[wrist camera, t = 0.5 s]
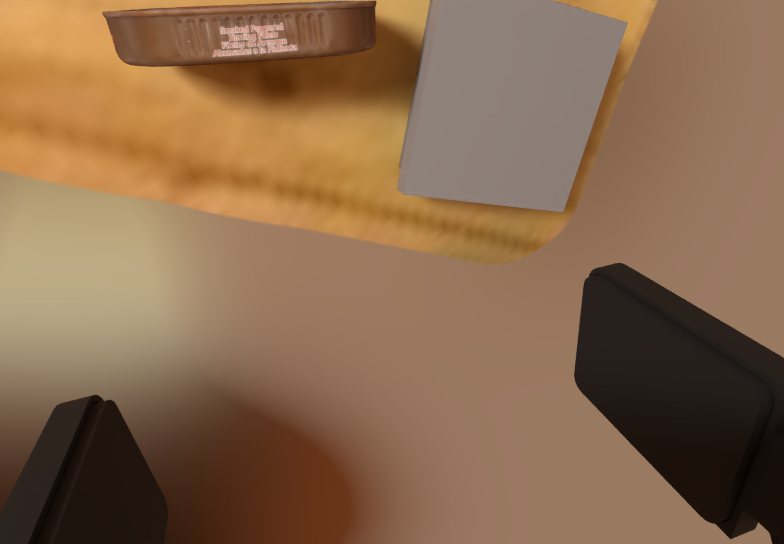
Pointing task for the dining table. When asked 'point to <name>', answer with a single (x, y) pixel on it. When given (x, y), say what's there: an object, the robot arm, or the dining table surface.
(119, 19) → the tin
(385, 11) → the dining table surface
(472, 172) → the stand
